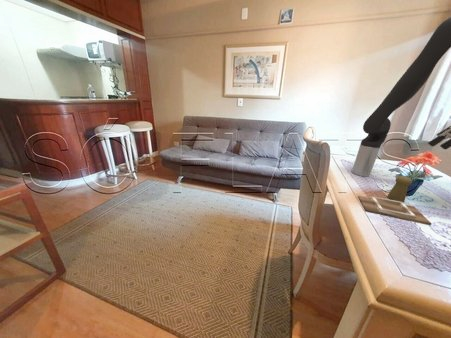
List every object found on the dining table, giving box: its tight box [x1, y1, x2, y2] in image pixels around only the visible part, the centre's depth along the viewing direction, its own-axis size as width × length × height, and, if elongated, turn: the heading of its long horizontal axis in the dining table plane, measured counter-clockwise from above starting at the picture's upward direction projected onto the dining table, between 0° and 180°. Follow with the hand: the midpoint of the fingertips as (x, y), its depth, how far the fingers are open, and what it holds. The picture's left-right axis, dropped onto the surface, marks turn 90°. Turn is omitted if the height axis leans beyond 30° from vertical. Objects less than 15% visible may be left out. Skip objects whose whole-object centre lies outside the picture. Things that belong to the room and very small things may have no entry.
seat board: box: [357, 195, 432, 226], centre depth 75 cm, size 12×20×2 cm, turn 68°
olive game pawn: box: [386, 175, 413, 204], centre depth 82 cm, size 6×6×11 cm
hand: (435, 146), depth 74 cm, fingers open, 8 cm apart
